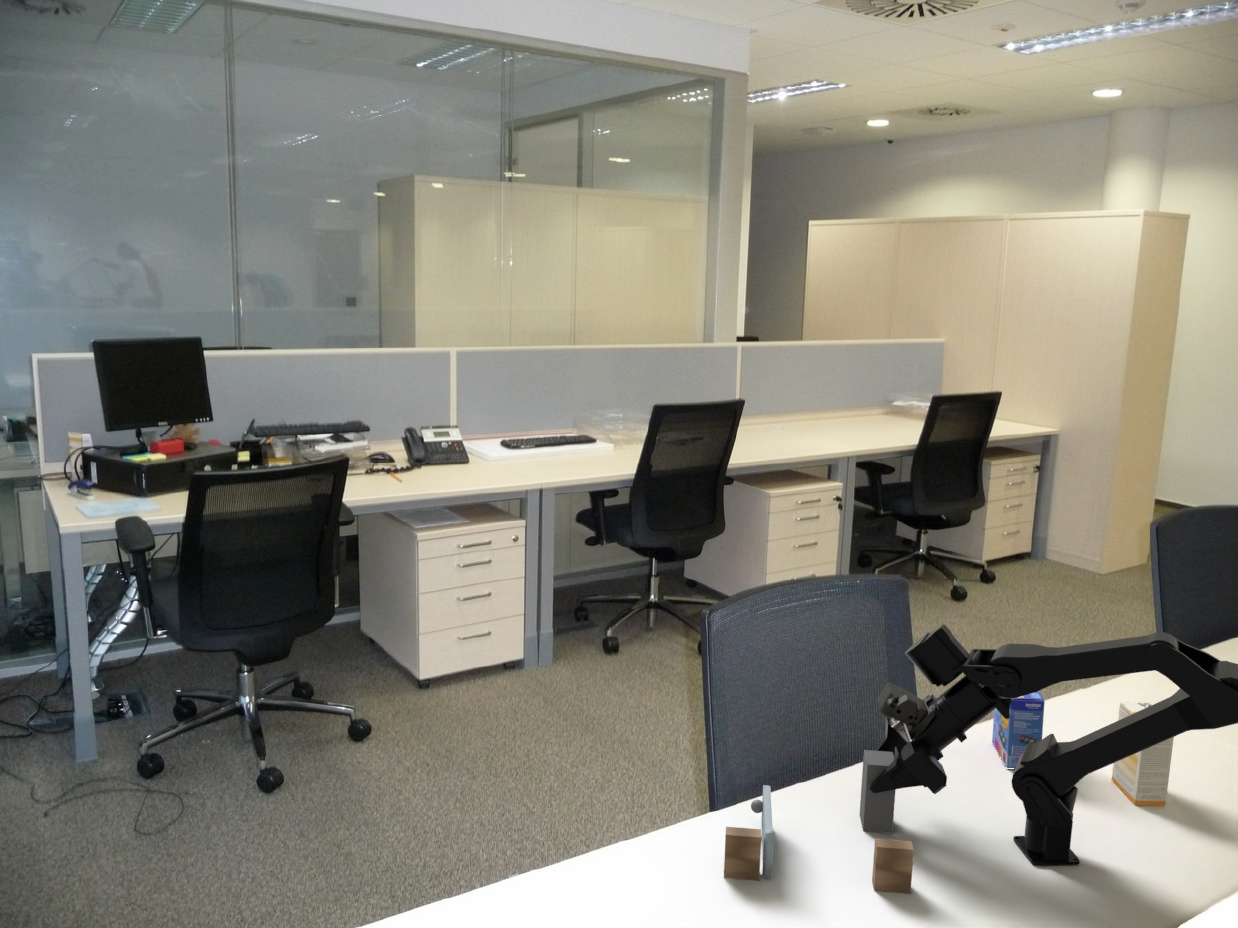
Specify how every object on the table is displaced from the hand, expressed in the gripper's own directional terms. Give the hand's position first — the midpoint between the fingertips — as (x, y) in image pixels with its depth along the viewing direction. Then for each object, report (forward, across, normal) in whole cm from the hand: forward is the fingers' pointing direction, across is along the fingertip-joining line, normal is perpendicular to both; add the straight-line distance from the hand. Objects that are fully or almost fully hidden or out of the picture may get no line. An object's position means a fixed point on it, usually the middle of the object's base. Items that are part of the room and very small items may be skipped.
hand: (868, 779), depth 146 cm
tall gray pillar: (+4, 0, +6) cm, 7 cm away
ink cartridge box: (-14, -25, +24) cm, 37 cm away
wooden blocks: (+10, +16, -1) cm, 19 cm away
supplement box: (-25, -15, +35) cm, 46 cm away
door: (+15, +10, -6) cm, 19 cm away
